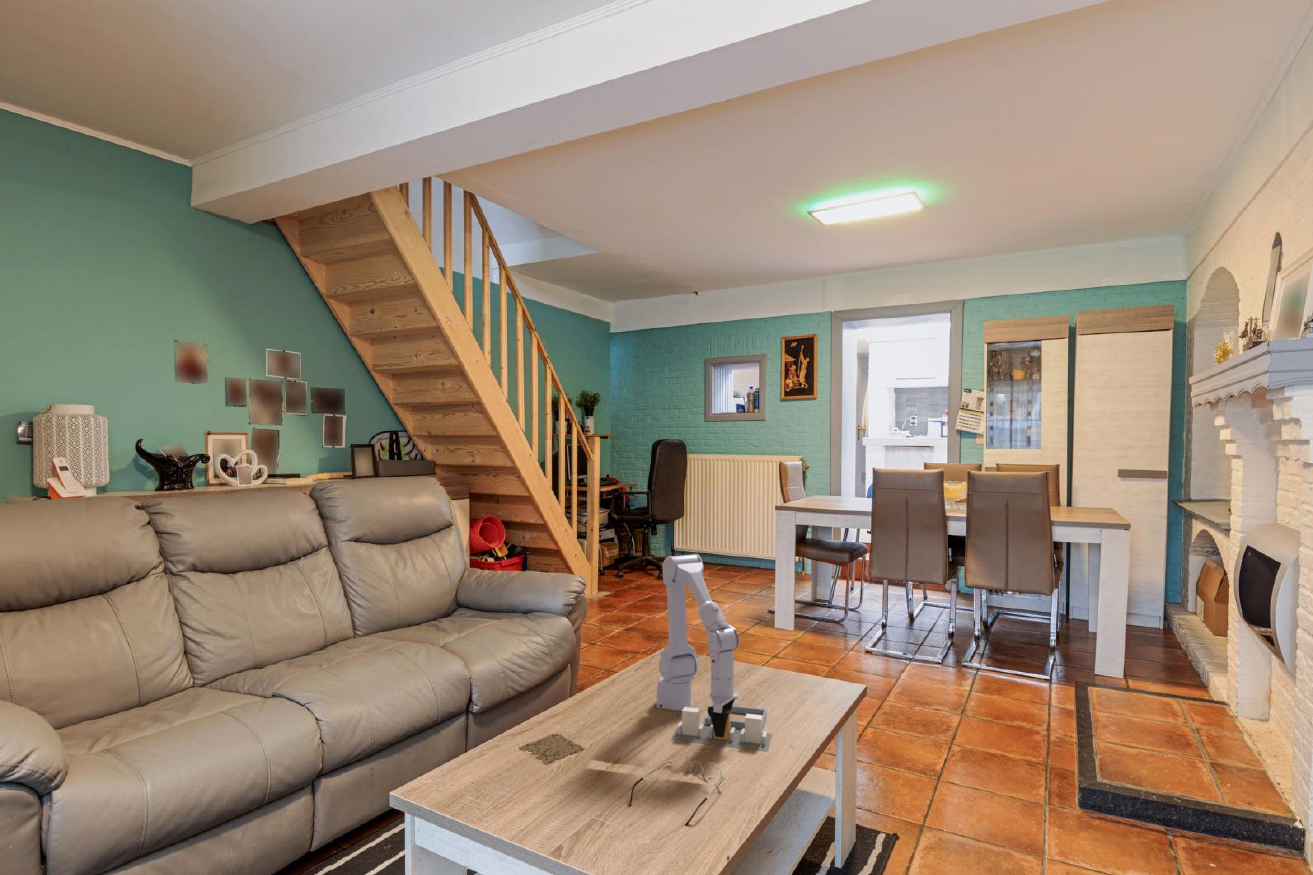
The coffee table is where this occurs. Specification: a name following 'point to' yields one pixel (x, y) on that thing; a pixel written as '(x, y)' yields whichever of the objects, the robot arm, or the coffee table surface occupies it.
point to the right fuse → (753, 728)
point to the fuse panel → (734, 741)
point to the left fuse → (690, 721)
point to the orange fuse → (726, 729)
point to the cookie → (552, 748)
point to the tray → (741, 710)
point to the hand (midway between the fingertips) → (721, 729)
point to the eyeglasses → (685, 775)
